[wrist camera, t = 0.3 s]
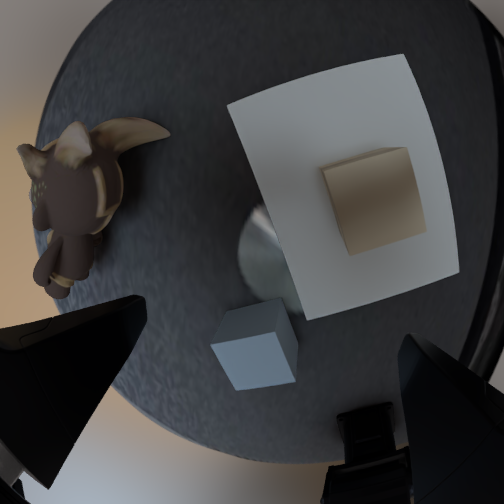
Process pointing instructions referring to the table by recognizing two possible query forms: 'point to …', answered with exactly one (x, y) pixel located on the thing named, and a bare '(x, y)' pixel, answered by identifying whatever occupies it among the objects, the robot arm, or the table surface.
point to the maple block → (374, 198)
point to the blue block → (257, 346)
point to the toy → (79, 193)
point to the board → (334, 149)
